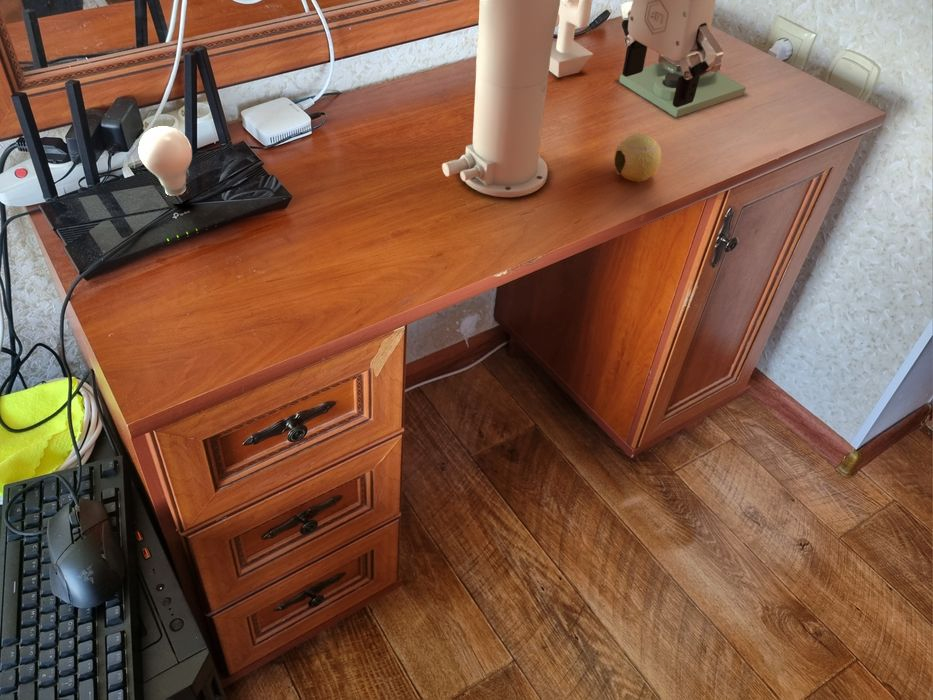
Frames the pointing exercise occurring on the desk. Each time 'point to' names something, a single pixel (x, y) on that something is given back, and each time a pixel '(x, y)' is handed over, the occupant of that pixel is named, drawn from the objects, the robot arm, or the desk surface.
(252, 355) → the desk surface
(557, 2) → the robot arm
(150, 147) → the lightbulb
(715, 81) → the scale
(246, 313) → the desk surface
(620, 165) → the tennis ball
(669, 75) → the button
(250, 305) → the desk surface
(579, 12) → the figurine
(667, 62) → the pan
